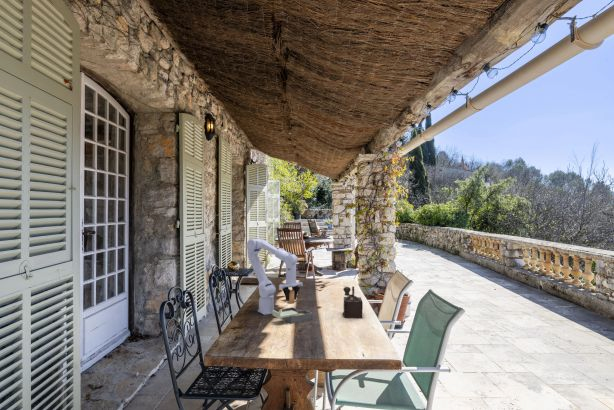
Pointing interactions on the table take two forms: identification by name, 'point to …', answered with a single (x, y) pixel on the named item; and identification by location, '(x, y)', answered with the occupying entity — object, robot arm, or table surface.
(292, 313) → the lid
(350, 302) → the manual coffee grinder
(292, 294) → the tan cylindrical peg
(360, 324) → the table surface
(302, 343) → the table surface
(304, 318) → the housing
